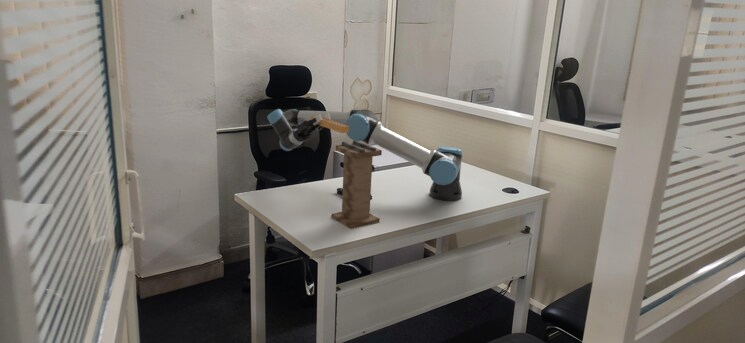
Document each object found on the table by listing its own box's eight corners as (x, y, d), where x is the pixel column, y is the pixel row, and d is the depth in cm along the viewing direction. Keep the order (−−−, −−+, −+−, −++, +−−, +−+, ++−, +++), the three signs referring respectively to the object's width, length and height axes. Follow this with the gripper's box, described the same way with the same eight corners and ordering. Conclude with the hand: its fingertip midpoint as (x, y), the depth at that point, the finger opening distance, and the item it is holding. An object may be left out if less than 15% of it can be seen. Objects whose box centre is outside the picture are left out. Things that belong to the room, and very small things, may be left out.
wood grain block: (310, 121, 233) (310, 116, 232) (317, 121, 235) (317, 115, 234) (341, 133, 215) (341, 126, 214) (348, 132, 217) (349, 126, 216)
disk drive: (336, 194, 250) (353, 203, 238) (336, 188, 249) (353, 197, 238) (354, 191, 256) (372, 200, 244) (355, 185, 255) (373, 194, 243)
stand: (331, 217, 220) (333, 142, 211) (359, 211, 228) (362, 139, 219) (351, 228, 209) (354, 150, 200) (379, 222, 217) (383, 146, 209)
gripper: (317, 140, 249) (343, 123, 231) (285, 143, 240) (310, 126, 221) (313, 124, 250) (339, 107, 232) (281, 127, 241) (305, 109, 222)
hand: (324, 116), depth 227 cm, fingers closed on wood grain block, 3 cm apart
